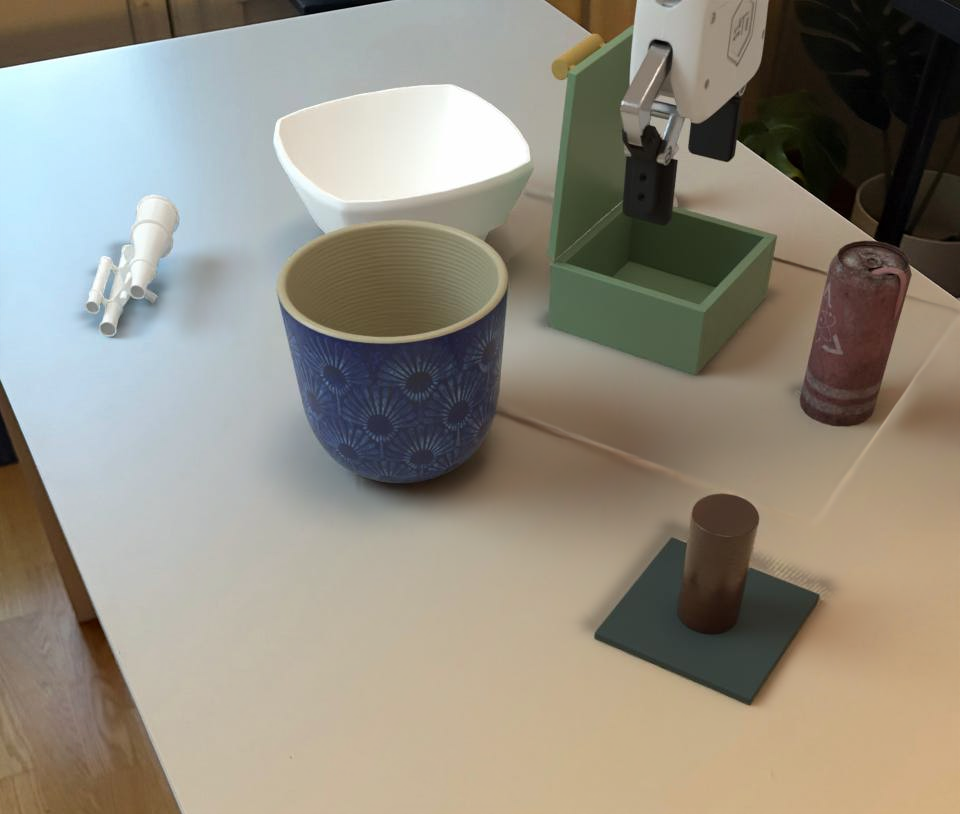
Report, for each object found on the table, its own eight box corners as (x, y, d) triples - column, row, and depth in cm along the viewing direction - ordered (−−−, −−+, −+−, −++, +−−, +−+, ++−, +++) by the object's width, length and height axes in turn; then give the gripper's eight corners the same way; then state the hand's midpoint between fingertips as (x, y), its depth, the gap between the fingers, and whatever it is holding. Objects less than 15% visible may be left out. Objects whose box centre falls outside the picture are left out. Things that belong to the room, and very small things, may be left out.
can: (849, 445, 100) (891, 288, 89) (784, 414, 103) (817, 258, 92) (887, 412, 103) (933, 256, 92) (823, 383, 106) (860, 228, 95)
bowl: (340, 342, 111) (326, 219, 102) (266, 232, 124) (248, 114, 115) (558, 287, 116) (563, 165, 107) (465, 187, 129) (463, 71, 120)
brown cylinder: (748, 605, 87) (770, 507, 80) (722, 643, 85) (742, 545, 78) (693, 583, 89) (709, 485, 82) (666, 619, 87) (680, 521, 80)
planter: (363, 542, 93) (344, 368, 81) (267, 429, 102) (237, 258, 91) (547, 466, 99) (553, 293, 87) (440, 366, 108) (433, 198, 96)
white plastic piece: (129, 354, 113) (78, 319, 110) (150, 275, 122) (102, 241, 119) (177, 296, 109) (124, 258, 106) (194, 219, 118) (146, 182, 115)
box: (764, 305, 114) (777, 235, 108) (694, 384, 106) (704, 312, 101) (624, 263, 119) (630, 193, 114) (547, 335, 111) (550, 264, 106)
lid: (665, 9, 101) (616, -7, 102) (576, 74, 93) (525, 56, 94) (634, 190, 113) (591, 174, 114) (554, 260, 105) (509, 242, 107)
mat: (818, 600, 88) (820, 594, 88) (749, 705, 82) (751, 699, 82) (670, 542, 93) (671, 536, 92) (593, 638, 86) (594, 632, 86)
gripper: (711, -62, 61) (674, 261, 74) (836, -155, 70) (783, 146, 83) (578, -86, 63) (565, 230, 76) (715, -173, 72) (683, 122, 86)
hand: (679, 186), depth 80 cm, fingers open, 9 cm apart
